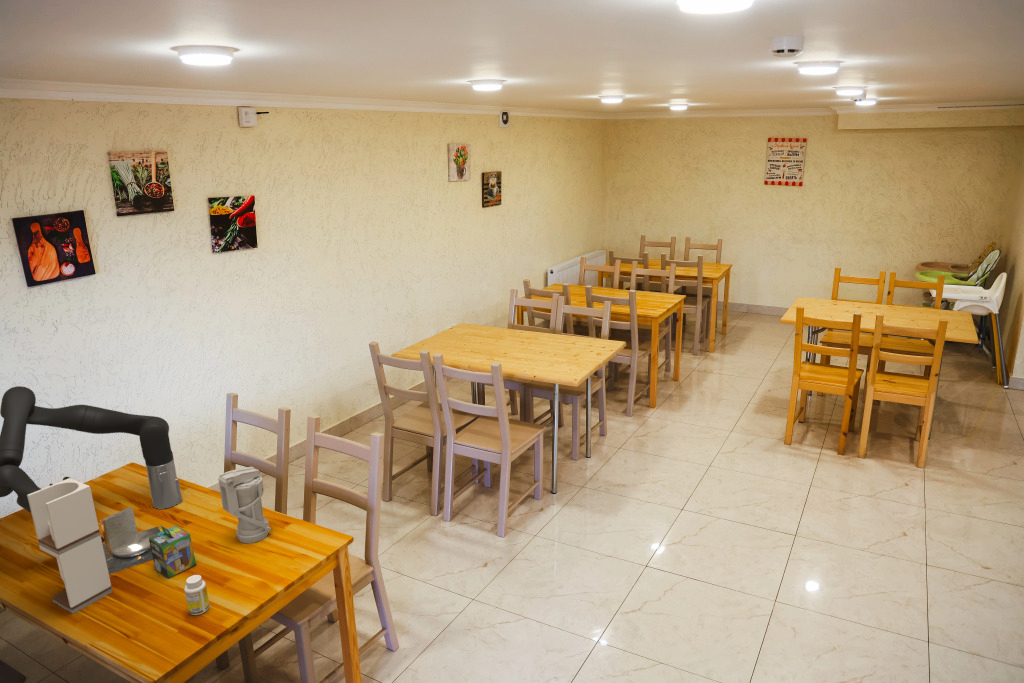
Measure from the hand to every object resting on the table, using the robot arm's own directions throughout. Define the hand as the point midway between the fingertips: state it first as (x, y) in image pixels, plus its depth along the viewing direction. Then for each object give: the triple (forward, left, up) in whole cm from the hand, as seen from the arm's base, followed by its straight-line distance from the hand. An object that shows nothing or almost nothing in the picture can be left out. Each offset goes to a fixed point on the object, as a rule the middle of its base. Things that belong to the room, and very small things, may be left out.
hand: (102, 543), depth 218 cm
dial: (-8, 0, -5) cm, 9 cm away
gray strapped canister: (-41, +16, -7) cm, 44 cm away
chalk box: (-17, +18, -7) cm, 25 cm away
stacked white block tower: (+8, +16, -7) cm, 19 cm away
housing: (-9, -1, -7) cm, 11 cm away
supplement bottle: (-17, +45, -7) cm, 48 cm away
